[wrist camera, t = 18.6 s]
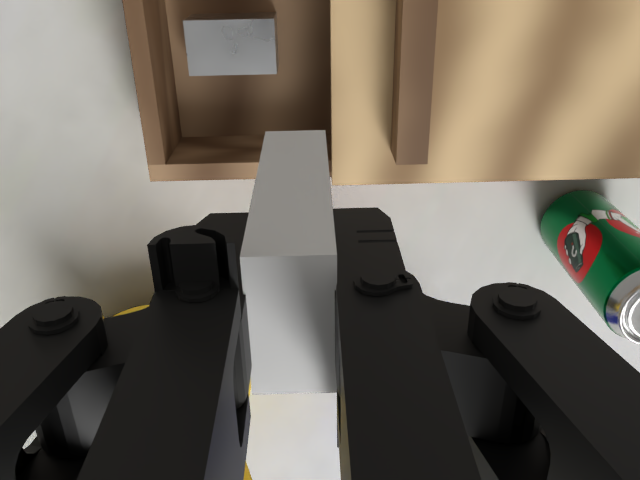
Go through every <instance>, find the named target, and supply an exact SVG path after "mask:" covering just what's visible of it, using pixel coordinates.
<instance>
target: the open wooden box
mask: <svg viewBox="0 0 640 480" xmlns="http://www.w3.org/2000/svg"><path fill="white" fill-rule="evenodd" d="M122 2H123V8H124V14H125V21H126V27H127V34H128V40H129V47H130V53H131V59H132V66H133V72H134V79H135V85H136V92H137V98H138V105H139V111H140V117H141V124H142V130H143V137H144V143H145V150H146V156H147V162H148V169H149V175H150V181H188V180H229V179H256V175H257V170H258V165H259V160H260V155H261V151H262V146H263V141H264V136H265V131H304V130H325V133H326V143H327V154H328V164H329V175H330V177H332V153H331V51H330V0H122ZM260 12H277V33H278V54H279V66H278V71H277V74H260V75H216V76H189V70H188V61H187V53H186V44H185V35H184V26H183V20H184V19H186V18H187V17H189V16H190V15H191V14H214V13H260Z"/></svg>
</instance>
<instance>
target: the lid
mask: <svg viewBox="0 0 640 480" xmlns="http://www.w3.org/2000/svg"><path fill="white" fill-rule="evenodd" d="M330 51H331V153H332V185H369V184H411V183H452V182H493V181H534V180H576V179H617V178H640V0H330Z"/></svg>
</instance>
